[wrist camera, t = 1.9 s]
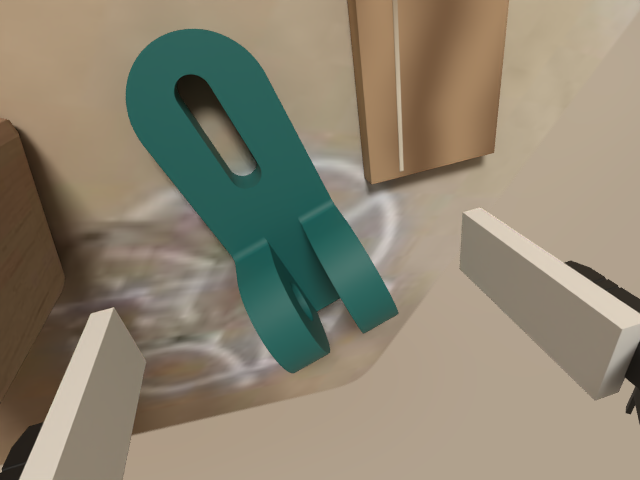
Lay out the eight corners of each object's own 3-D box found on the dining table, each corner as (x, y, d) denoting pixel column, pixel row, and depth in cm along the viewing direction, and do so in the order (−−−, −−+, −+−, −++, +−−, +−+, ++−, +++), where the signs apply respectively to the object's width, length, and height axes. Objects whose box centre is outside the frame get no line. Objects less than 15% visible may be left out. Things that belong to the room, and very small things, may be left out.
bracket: (361, 261, 27) (411, 336, 21) (283, 307, 28) (307, 395, 21) (223, 1, 18) (233, -16, 11) (102, 73, 18) (39, 99, 11)
